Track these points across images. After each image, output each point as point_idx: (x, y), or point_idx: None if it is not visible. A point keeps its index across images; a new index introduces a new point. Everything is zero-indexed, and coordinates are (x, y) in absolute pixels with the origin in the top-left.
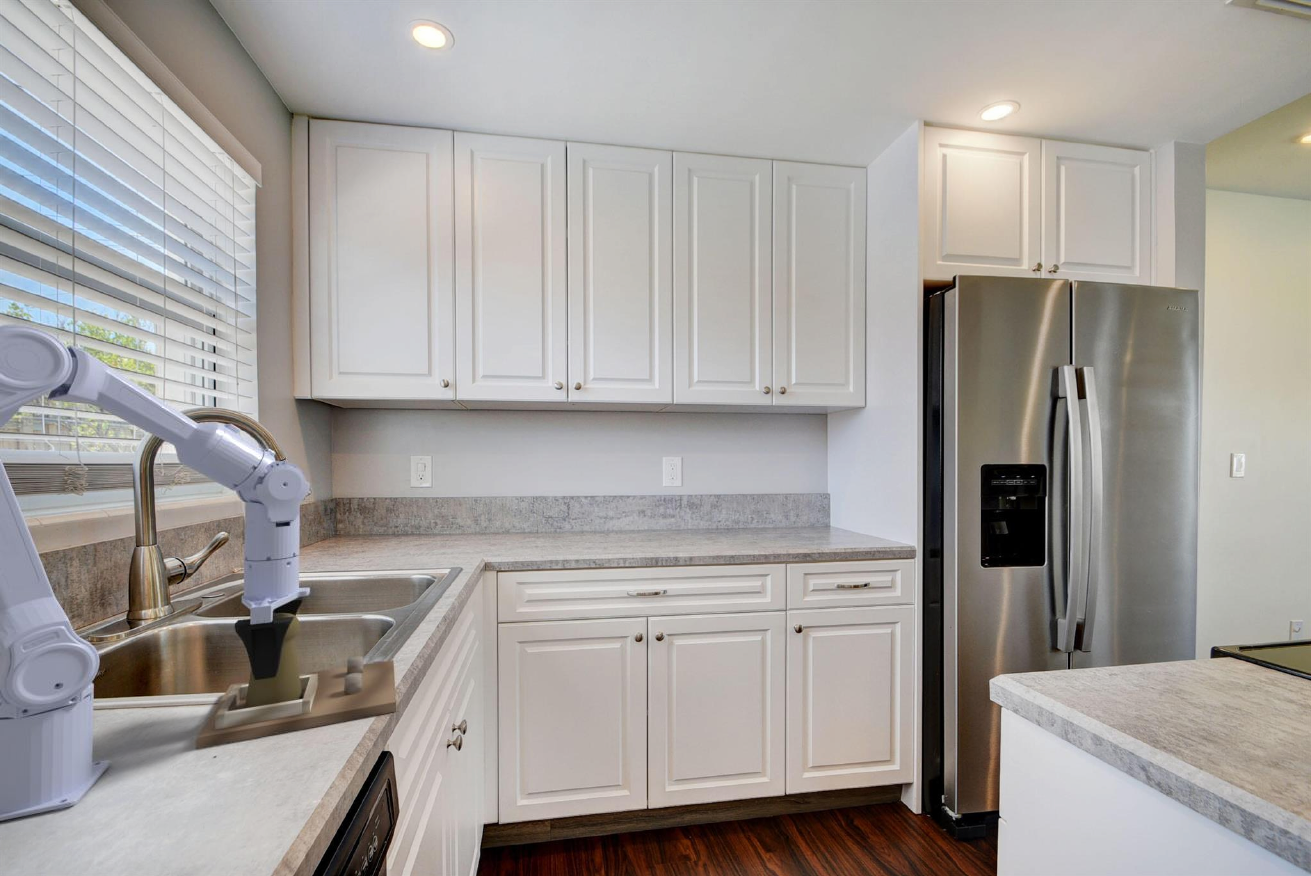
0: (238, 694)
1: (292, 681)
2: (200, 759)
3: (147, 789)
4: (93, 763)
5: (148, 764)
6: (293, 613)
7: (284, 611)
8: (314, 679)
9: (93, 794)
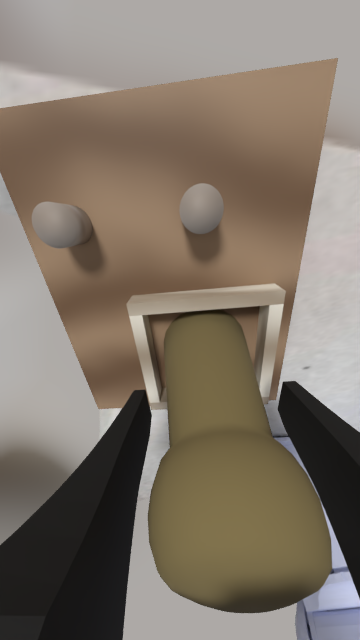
0: None
1: (235, 341)
2: (303, 378)
3: (345, 400)
4: None
5: None
6: (95, 529)
7: (99, 565)
8: (162, 303)
9: None
